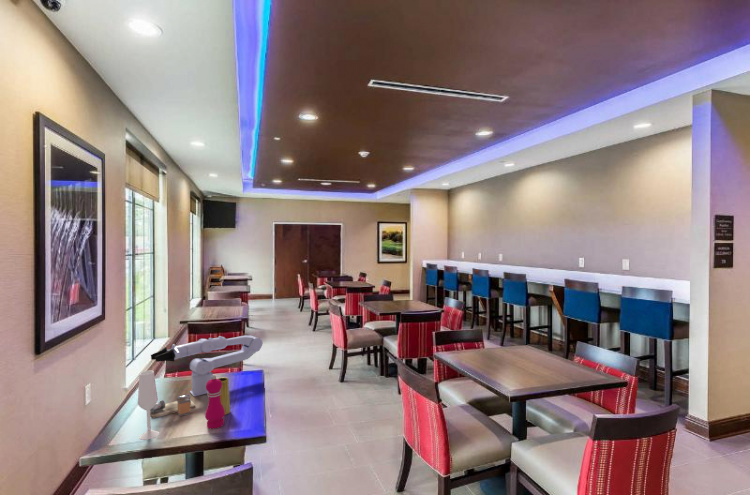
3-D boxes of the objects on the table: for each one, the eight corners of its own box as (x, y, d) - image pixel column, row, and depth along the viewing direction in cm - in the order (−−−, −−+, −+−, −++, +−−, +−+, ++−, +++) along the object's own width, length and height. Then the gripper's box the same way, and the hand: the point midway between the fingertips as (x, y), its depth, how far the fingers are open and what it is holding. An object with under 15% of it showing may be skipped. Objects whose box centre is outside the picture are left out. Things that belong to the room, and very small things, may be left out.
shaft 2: (188, 402, 187) (188, 392, 187) (190, 405, 184) (190, 394, 184) (177, 405, 184) (177, 394, 184) (179, 408, 181) (178, 397, 181)
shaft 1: (161, 410, 179) (161, 399, 179) (165, 412, 177) (165, 401, 177) (150, 414, 175) (149, 403, 175) (154, 416, 173) (153, 405, 173)
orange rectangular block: (187, 410, 178) (187, 396, 178) (190, 413, 175) (189, 399, 175) (177, 413, 176) (177, 399, 176) (179, 416, 173) (179, 402, 172)
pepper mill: (213, 431, 158) (211, 379, 158) (201, 426, 162) (199, 376, 162) (229, 423, 165) (227, 373, 164) (217, 419, 168) (215, 371, 168)
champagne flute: (163, 431, 159) (160, 370, 158) (150, 440, 152) (147, 375, 152) (148, 430, 160) (145, 369, 160) (134, 438, 154) (132, 375, 153)
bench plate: (189, 399, 190) (189, 397, 190) (195, 407, 182) (195, 405, 181) (147, 409, 180) (147, 407, 180) (152, 418, 171) (152, 416, 171)
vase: (216, 417, 171) (214, 383, 170) (214, 411, 176) (213, 378, 176) (231, 413, 174) (230, 380, 173) (229, 408, 179) (228, 376, 179)
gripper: (179, 340, 200) (148, 347, 190) (189, 343, 189) (156, 350, 180) (181, 355, 199) (150, 363, 190) (191, 358, 189) (158, 367, 180)
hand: (153, 358), depth 185 cm, fingers open, 7 cm apart
